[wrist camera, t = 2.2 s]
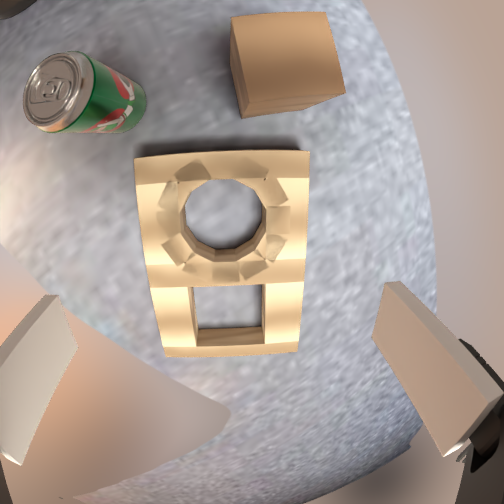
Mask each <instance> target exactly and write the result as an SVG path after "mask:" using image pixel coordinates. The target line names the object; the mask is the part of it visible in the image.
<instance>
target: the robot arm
mask: <svg viewBox="0 0 504 504" xmlns="http://www.w3.org/2000/svg"><path fill="white" fill-rule="evenodd" d="M35 1H36V0H0V19H7V18H10V17H12V16H14V15H16V14H18V13H20V12H21V11H23V10H24V9H26V8H27V7H29V6H30V5H31V4H32V3H34V2H35ZM372 339H373V341H374V342H375V344H376V345H377V347H378V348H379V350H380V351H381V353H382V355H383V356H384V358H385V359H386V361H387V362H388V364H389V366H390V367H391V369H392V370H393V372H394V374H395V375H396V377H397V378H398V380H399V382H400V383H401V385H402V387H403V388H404V390H405V392H406V393H407V395H408V397H409V398H410V400H411V402H412V403H413V405H414V407H415V408H416V410H417V412H418V414H419V415H420V417H421V419H422V421H423V422H424V424H425V426H426V428H427V429H428V431H429V433H430V435H431V436H432V438H433V440H434V442H435V444H436V446H437V447H438V449H439V451H440V453H441V455H442V457H444V456H446V455H448V454H450V453H451V452H453V451H455V450H457V449H459V448H460V447H461V446H462V445H463V444H464V443H465V441H466V440H467V439H468V438H469V439H470V440H471V444H470V445H469V446H468V447H467V448H466V449H465V450H464V451H463V452H462V453H461V454H460V455H459V456H458V458H457V460H456V462H459V461H460V460H461V459H462V458H463V457H464V456H465V455H466V454H467V456H466V458H465V459H464V460H463V461H462V462H463V463H465V466H464V471H463V475H462V480H461V484H460V488H459V491H458V495H457V499H456V502H455V504H504V382H503V381H502V380H501V378H500V377H499V376H498V375H497V374H496V373H495V371H494V370H493V369H492V368H491V367H490V366H489V364H486V361H485V360H484V359H483V358H482V357H480V354H479V353H478V352H477V351H476V350H475V349H474V348H473V347H472V346H471V345H470V344H468V343H467V342H465V341H463V340H462V339H457V338H456V337H455V336H454V334H453V333H452V332H450V330H449V329H448V328H447V327H446V326H445V325H444V324H443V323H442V322H441V321H440V320H439V319H438V318H437V317H436V316H435V315H434V314H433V313H432V312H431V311H430V310H429V309H428V308H427V307H426V306H425V305H424V304H423V303H422V302H421V301H420V300H419V299H418V298H417V297H416V296H415V295H414V294H413V293H412V292H411V291H410V290H409V289H408V288H407V287H406V286H405V285H404V284H403V283H401V282H400V281H396V282H387V283H385V284H384V289H383V293H382V298H381V302H380V306H379V311H378V315H377V319H376V322H375V326H374V330H373V334H372ZM77 349H78V346H77V343H76V341H75V339H74V336H73V334H72V331H71V329H70V326H69V323H68V321H67V318H66V315H65V313H64V310H63V307H62V304H61V301H60V298H59V295H45V296H44V297H43V298H42V299H41V300H40V301H39V302H38V303H37V304H36V305H35V306H34V307H33V309H32V310H31V311H30V312H29V313H28V314H27V315H26V316H25V318H24V319H23V320H22V321H21V322H20V323H19V325H18V326H17V327H16V328H15V329H14V330H13V332H12V333H11V334H10V335H9V336H8V338H7V339H6V340H5V341H4V343H3V344H2V345H1V346H0V452H1V453H2V454H3V455H4V456H5V457H6V458H7V459H9V460H11V461H13V462H15V463H17V464H19V465H21V466H22V464H23V461H24V458H25V456H26V453H27V451H28V448H29V446H30V443H31V441H32V438H33V436H34V434H35V431H36V429H37V427H38V425H39V423H40V420H41V418H42V416H43V414H44V412H45V410H46V408H47V405H48V404H49V401H50V399H51V397H52V395H53V393H54V391H55V389H56V388H57V385H58V384H59V382H60V380H61V378H62V376H63V374H64V372H65V370H66V369H67V367H68V365H69V363H70V361H71V360H72V358H73V356H74V354H75V352H76V351H77ZM0 504H13V503H12V500H11V497H10V494H9V491H8V487H7V484H6V480H5V477H4V473H3V469H2V465H1V461H0Z"/></svg>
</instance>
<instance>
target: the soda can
mask: <svg viewBox="0 0 504 504" xmlns="http://www.w3.org/2000/svg"><path fill="white" fill-rule="evenodd" d="M145 108H146V96H145V93H144V90H143V89H142V87H141V86H140V85H138V84H137V83H136V82H134V81H132V80H131V79H129V78H127V77H125V76H124V75H122V74H120V73H119V72H117V71H115V70H113V69H112V68H110V67H108V66H106V65H104V64H103V63H101V62H99V61H97V60H95V59H93V58H92V57H90V56H88V55H86V54H84V53H82V52H79V51H68V52H64V53H57V54H54V55H51V56H49V57H48V58H46V59H45V60H43V61H42V62H41V63H40V64H39V65H38V66H37V67H36V68H35V69H34V71H33V72H32V74H31V75H30V77H29V79H28V81H27V84H26V86H25V90H24V95H23V109H24V112H25V115H26V117H27V119H28V120H29V121H30V122H31V123H32V124H34V125H36V127H38V128H39V129H40V130H42V131H44V132H47V133H123V132H126V131H128V130H130V129H132V128H133V127H134V126H135V125H136V124H137V123H138V122H139V121H140V120H141V118H142V116H143V114H144V112H145Z"/></svg>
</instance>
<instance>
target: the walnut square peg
mask: <svg viewBox="0 0 504 504" xmlns="http://www.w3.org/2000/svg"><path fill="white" fill-rule="evenodd" d="M230 67H231V71H232V76H233V81H234V86H235V91H236V95H237V100H238V105H239V110H240V115H241V119H244V118H249V117H255V116H261V115H268V114H274V113H282V112H289V111H298V110H303V109H306V108H308V107H311V106H313V105H316V104H318V103H321V102H323V101H326V100H329V99H331V98H334V97H337V96H339V95H342V94H345V93H346V91H345V86H344V81H343V77H342V72H341V68H340V64H339V60H338V55H337V51H336V48H335V44H334V40H333V36H332V33H331V29H330V26H329V22H328V19H327V16H326V13H325V12H278V13H264V14H254V15H245V16H237V17H231V31H230Z"/></svg>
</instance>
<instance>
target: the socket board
mask: <svg viewBox="0 0 504 504" xmlns="http://www.w3.org/2000/svg"><path fill="white" fill-rule="evenodd" d="M309 161H310V151H303V150H224V151H204V152H188V153H176V154H165V155H155V156H146V157H140V158H135V159H134V170H135V182H136V193H137V203H138V212H139V220H140V228H141V236H142V242H143V249H144V256H145V262H146V268H147V273H148V279H149V284H150V289H151V295H152V300H153V304H154V309H155V314H156V318H157V323H158V327H159V331H160V335H161V340H162V344H163V347H164V351H165V355H166V357H225V356H247V355H262V354H275V353H287V352H297V349H298V340H299V330H300V320H301V310H302V298H303V286H304V273H305V259H306V242H307V223H308V199H309ZM216 179H235V180H237V181H239V182H240V183H242V184H244V185H246V186H248V187H250V188H252V189H254V190H255V192H256V194H257V195H258V197H259V198H260V200H261V202H262V223H261V224H260V226H259V228H258V229H257V231H256V233H255V235H254V236H253V238H252V239H251V240H249V241H247V242H246V243H244V244H242V245H241V246H239V247H237V248H236V249H217V250H215V249H213V248H211V247H209V246H207V245H205V244H203V243H201V242H199V241H197V239H196V238H195V237H194V235H193V234H192V232H191V231H190V229H189V228H188V227H187V225H186V214H185V204H186V202H187V200H188V198H189V196H190V194H191V192H192V191H193V190H194V189H196V188H197V187H199V186H200V185H202V184H203V183H205V182H207V181H208V180H216ZM254 284H262V327H245V328H223V329H198V323H197V316H196V309H195V301H194V293H193V287H206V286H232V285H254Z"/></svg>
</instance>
